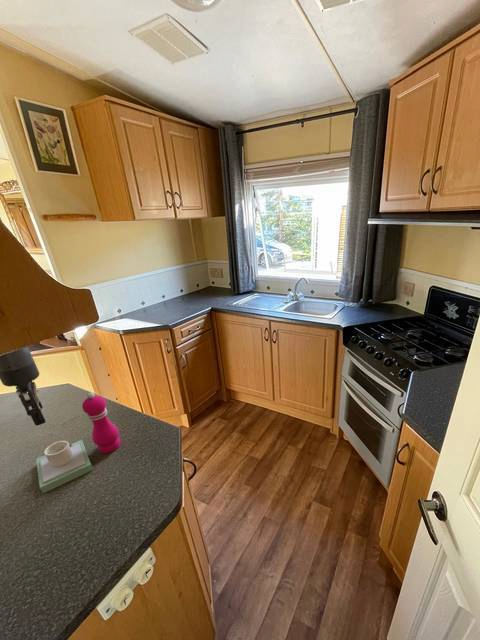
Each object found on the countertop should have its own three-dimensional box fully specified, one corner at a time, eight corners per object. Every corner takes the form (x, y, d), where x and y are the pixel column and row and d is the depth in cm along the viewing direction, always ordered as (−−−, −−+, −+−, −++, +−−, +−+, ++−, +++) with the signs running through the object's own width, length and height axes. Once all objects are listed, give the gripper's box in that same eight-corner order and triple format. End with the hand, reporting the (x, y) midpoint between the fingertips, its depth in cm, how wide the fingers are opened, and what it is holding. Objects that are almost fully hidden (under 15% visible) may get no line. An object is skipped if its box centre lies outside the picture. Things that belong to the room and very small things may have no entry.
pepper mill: (102, 458, 87) (80, 403, 79) (93, 447, 92) (71, 394, 83) (126, 445, 92) (107, 391, 83) (117, 435, 97) (98, 384, 88)
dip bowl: (45, 468, 81) (39, 456, 79) (57, 453, 86) (51, 441, 84) (67, 466, 81) (61, 454, 79) (77, 451, 87) (72, 439, 85)
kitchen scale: (38, 464, 87) (35, 457, 85) (84, 445, 93) (81, 438, 92) (43, 493, 77) (38, 486, 75) (93, 469, 83) (90, 462, 82)
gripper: (-5, 358, 75) (21, 410, 82) (-7, 378, 65) (23, 435, 72) (31, 350, 79) (53, 400, 86) (35, 368, 69) (59, 422, 76)
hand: (39, 416), depth 79 cm, fingers open, 8 cm apart
